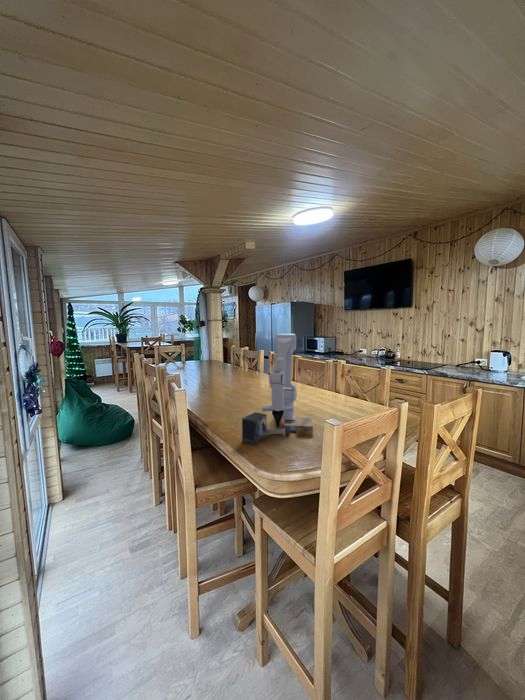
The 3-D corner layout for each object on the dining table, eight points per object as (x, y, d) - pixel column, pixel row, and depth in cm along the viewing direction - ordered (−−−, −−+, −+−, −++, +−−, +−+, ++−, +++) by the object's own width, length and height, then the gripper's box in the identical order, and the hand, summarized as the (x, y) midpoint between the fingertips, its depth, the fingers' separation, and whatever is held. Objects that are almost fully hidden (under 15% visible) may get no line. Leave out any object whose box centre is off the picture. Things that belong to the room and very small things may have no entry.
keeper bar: (266, 433, 137) (266, 429, 137) (266, 432, 138) (266, 428, 138) (285, 433, 136) (285, 429, 136) (285, 432, 138) (285, 428, 137)
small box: (254, 445, 126) (253, 420, 125) (241, 442, 130) (240, 418, 129) (267, 437, 135) (267, 413, 134) (255, 434, 139) (254, 411, 138)
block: (296, 435, 137) (296, 426, 136) (296, 425, 149) (296, 417, 148) (312, 435, 136) (312, 426, 136) (311, 426, 148) (311, 417, 147)
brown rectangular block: (280, 432, 140) (280, 423, 140) (281, 427, 146) (281, 419, 146) (306, 432, 139) (306, 423, 139) (305, 428, 145) (305, 419, 145)
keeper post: (285, 435, 136) (285, 427, 136) (285, 434, 138) (285, 426, 138) (289, 435, 136) (289, 427, 136) (289, 434, 138) (289, 426, 137)
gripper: (261, 399, 139) (261, 429, 140) (293, 400, 137) (293, 429, 139) (262, 396, 146) (263, 423, 147) (293, 396, 144) (293, 424, 146)
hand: (278, 426), depth 143 cm, fingers closed
